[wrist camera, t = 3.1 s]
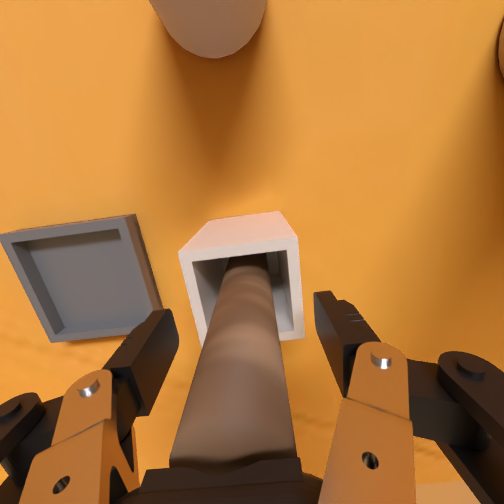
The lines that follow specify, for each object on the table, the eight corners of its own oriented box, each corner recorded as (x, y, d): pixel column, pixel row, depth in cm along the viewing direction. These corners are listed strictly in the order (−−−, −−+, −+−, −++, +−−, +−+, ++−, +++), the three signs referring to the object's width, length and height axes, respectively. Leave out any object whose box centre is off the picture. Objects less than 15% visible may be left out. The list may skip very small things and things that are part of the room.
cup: (279, 210, 20) (297, 237, 12) (285, 275, 22) (305, 338, 14) (209, 219, 20) (177, 252, 12) (221, 282, 22) (201, 349, 14)
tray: (135, 213, 20) (124, 217, 19) (166, 319, 24) (159, 330, 22) (18, 230, 21) (-3, 234, 19) (65, 331, 24) (50, 342, 23)
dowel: (263, 232, 20) (293, 416, 5) (267, 264, 21) (302, 502, 6) (229, 237, 20) (153, 427, 5) (234, 268, 21) (185, 510, 6)
